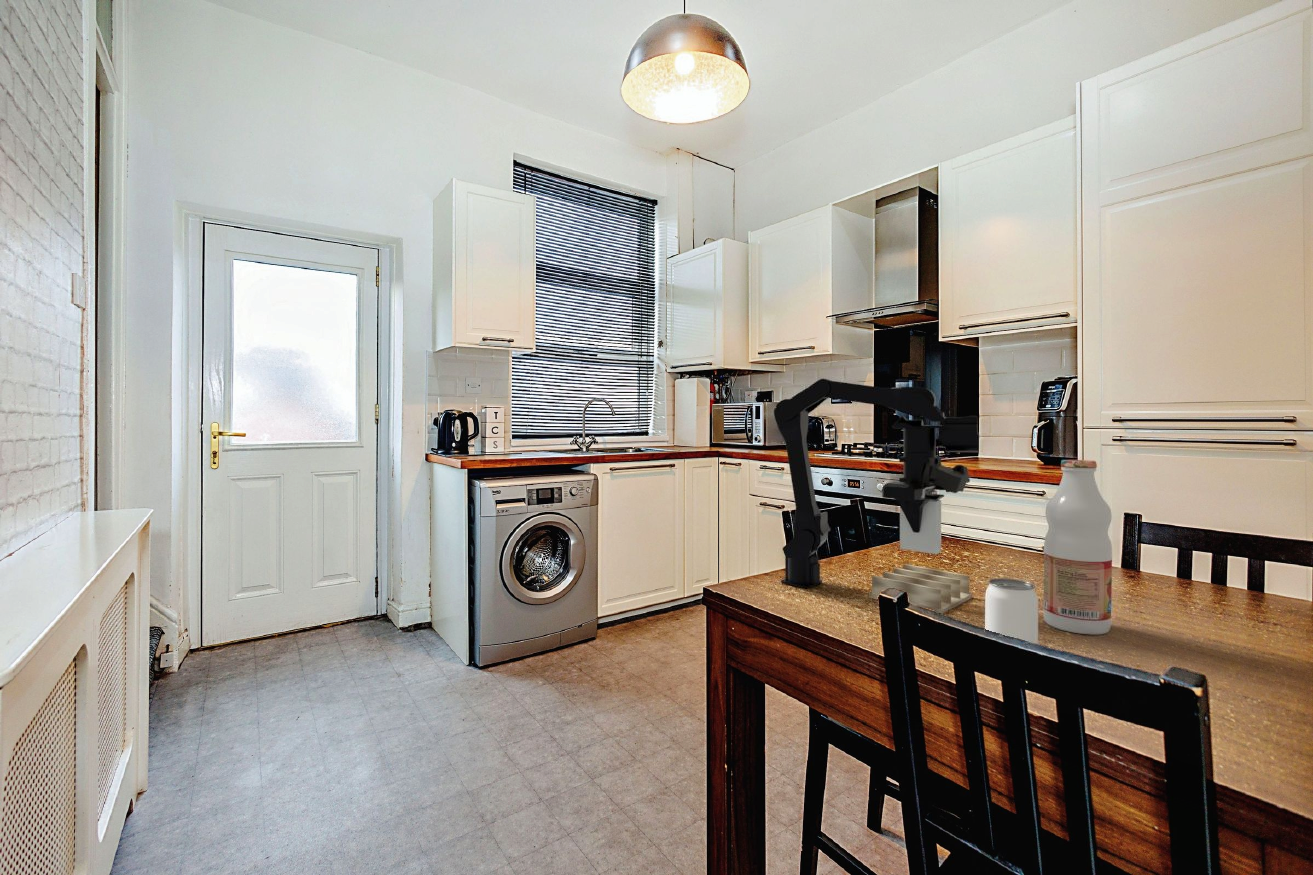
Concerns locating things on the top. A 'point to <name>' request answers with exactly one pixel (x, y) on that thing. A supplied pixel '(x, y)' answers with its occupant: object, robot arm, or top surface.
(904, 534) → the grey upright domino
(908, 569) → the rack
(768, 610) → the top surface
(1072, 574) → the fruit juice
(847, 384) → the robot arm
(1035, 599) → the can
